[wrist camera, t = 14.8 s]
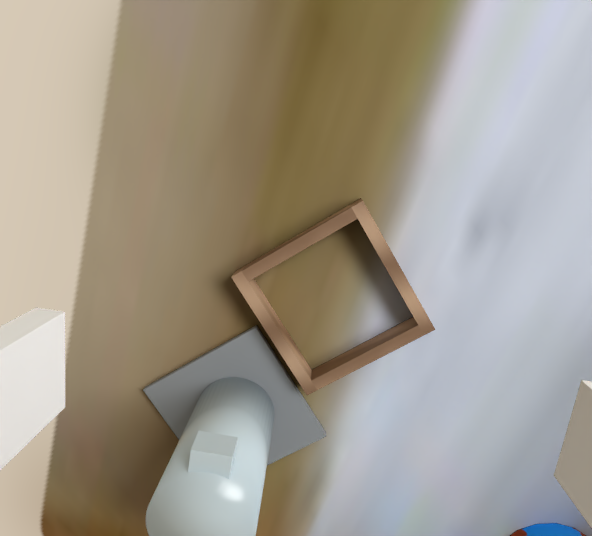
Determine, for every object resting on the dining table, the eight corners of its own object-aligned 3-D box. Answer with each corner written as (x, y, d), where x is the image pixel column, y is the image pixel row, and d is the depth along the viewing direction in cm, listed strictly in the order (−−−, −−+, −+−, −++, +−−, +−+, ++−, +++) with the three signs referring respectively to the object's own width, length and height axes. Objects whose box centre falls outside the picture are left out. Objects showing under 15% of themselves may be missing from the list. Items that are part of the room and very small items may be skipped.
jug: (203, 356, 41) (152, 448, 28) (282, 370, 41) (267, 468, 28) (187, 485, 44) (135, 620, 31) (260, 498, 44) (238, 637, 31)
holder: (429, 320, 40) (435, 329, 38) (307, 384, 42) (307, 395, 40) (360, 198, 37) (362, 200, 35) (235, 271, 39) (231, 277, 37)
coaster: (325, 432, 43) (326, 436, 42) (217, 486, 45) (215, 490, 44) (256, 325, 40) (255, 327, 40) (145, 386, 42) (143, 389, 42)
